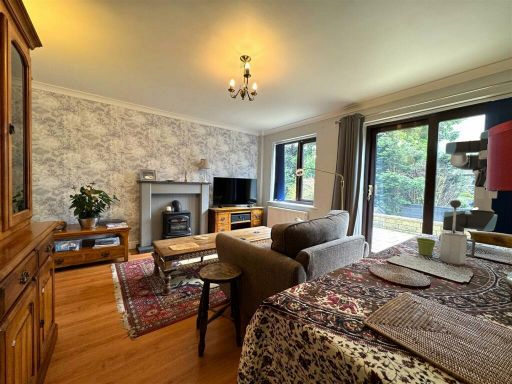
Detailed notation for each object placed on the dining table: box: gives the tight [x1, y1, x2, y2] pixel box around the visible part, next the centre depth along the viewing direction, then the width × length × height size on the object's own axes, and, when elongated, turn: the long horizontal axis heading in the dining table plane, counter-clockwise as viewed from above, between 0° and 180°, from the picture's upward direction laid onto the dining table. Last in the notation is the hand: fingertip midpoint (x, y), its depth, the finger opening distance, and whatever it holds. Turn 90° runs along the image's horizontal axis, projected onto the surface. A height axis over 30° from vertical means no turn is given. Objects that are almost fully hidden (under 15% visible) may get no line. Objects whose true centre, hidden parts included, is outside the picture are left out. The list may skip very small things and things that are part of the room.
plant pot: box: [415, 237, 437, 257], centre depth 129 cm, size 9×9×9 cm
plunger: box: [449, 199, 462, 233], centre depth 117 cm, size 7×7×21 cm
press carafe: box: [438, 229, 476, 266], centre depth 117 cm, size 11×14×16 cm
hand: (485, 198), depth 117 cm, fingers open, 13 cm apart
